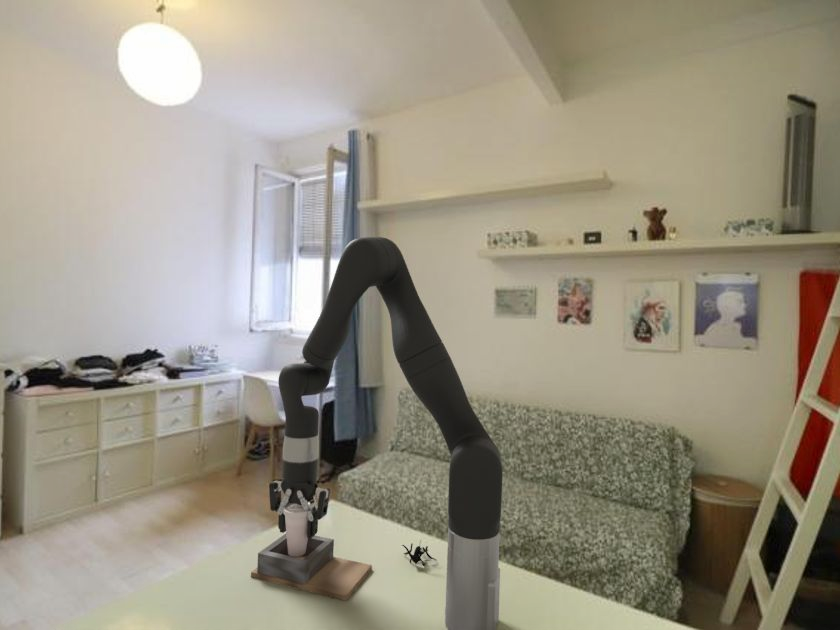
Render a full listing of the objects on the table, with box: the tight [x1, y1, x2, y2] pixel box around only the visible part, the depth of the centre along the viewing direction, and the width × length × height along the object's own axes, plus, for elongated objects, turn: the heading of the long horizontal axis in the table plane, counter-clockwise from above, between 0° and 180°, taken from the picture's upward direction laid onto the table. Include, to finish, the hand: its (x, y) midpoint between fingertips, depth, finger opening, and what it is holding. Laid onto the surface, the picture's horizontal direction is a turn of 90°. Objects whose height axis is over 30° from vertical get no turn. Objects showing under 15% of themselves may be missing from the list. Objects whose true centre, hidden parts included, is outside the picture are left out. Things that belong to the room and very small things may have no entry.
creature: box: [401, 540, 437, 566], centre depth 105 cm, size 8×5×8 cm
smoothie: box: [283, 501, 313, 557], centre depth 99 cm, size 6×6×14 cm
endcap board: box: [250, 533, 373, 602], centre depth 98 cm, size 22×12×5 cm, turn 72°
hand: (297, 533), depth 99 cm, fingers closed on smoothie, 6 cm apart
